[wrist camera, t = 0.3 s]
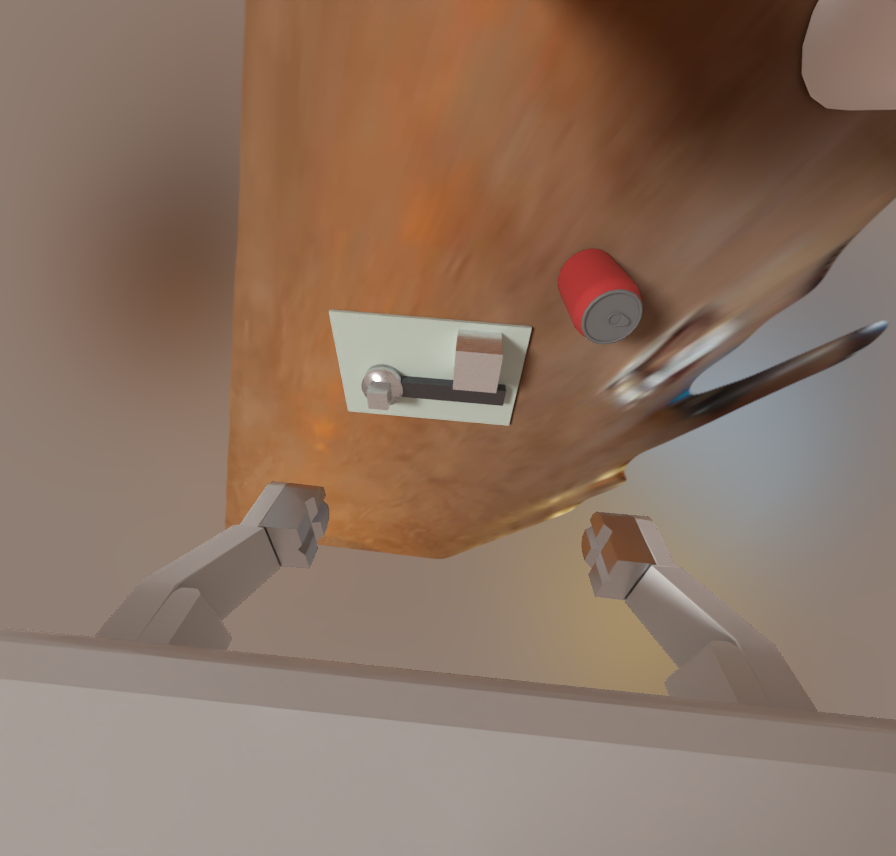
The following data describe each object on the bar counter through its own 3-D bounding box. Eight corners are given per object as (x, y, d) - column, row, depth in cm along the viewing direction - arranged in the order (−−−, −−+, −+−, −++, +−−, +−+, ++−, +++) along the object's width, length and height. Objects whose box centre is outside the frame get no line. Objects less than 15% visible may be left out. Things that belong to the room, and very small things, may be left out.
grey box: (458, 328, 47) (455, 350, 42) (501, 332, 47) (503, 354, 42) (455, 365, 51) (452, 389, 47) (495, 369, 51) (496, 393, 46)
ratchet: (362, 362, 52) (353, 381, 48) (507, 374, 51) (509, 395, 48) (367, 395, 56) (358, 415, 52) (500, 407, 56) (502, 428, 52)
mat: (330, 309, 47) (328, 311, 47) (531, 326, 46) (531, 328, 46) (349, 408, 59) (348, 411, 59) (508, 423, 59) (508, 425, 58)
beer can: (594, 308, 44) (622, 356, 35) (547, 294, 43) (564, 339, 35) (624, 256, 40) (665, 296, 31) (573, 239, 39) (599, 275, 30)
